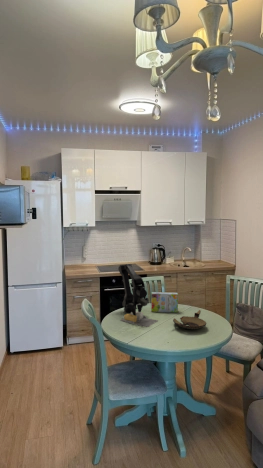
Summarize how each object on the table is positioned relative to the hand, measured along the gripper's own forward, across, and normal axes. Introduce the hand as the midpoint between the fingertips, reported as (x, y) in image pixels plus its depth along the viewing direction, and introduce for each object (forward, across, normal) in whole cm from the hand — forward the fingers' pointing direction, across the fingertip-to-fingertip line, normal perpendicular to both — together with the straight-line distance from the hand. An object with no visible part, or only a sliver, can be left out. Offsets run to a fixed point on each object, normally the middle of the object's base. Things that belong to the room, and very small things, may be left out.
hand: (137, 315), depth 234 cm
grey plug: (+2, 0, 0) cm, 2 cm away
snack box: (+4, +30, -6) cm, 31 cm away
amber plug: (+2, -8, 0) cm, 9 cm away
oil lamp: (+4, +11, -40) cm, 41 cm away
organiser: (+4, -4, -5) cm, 7 cm away
